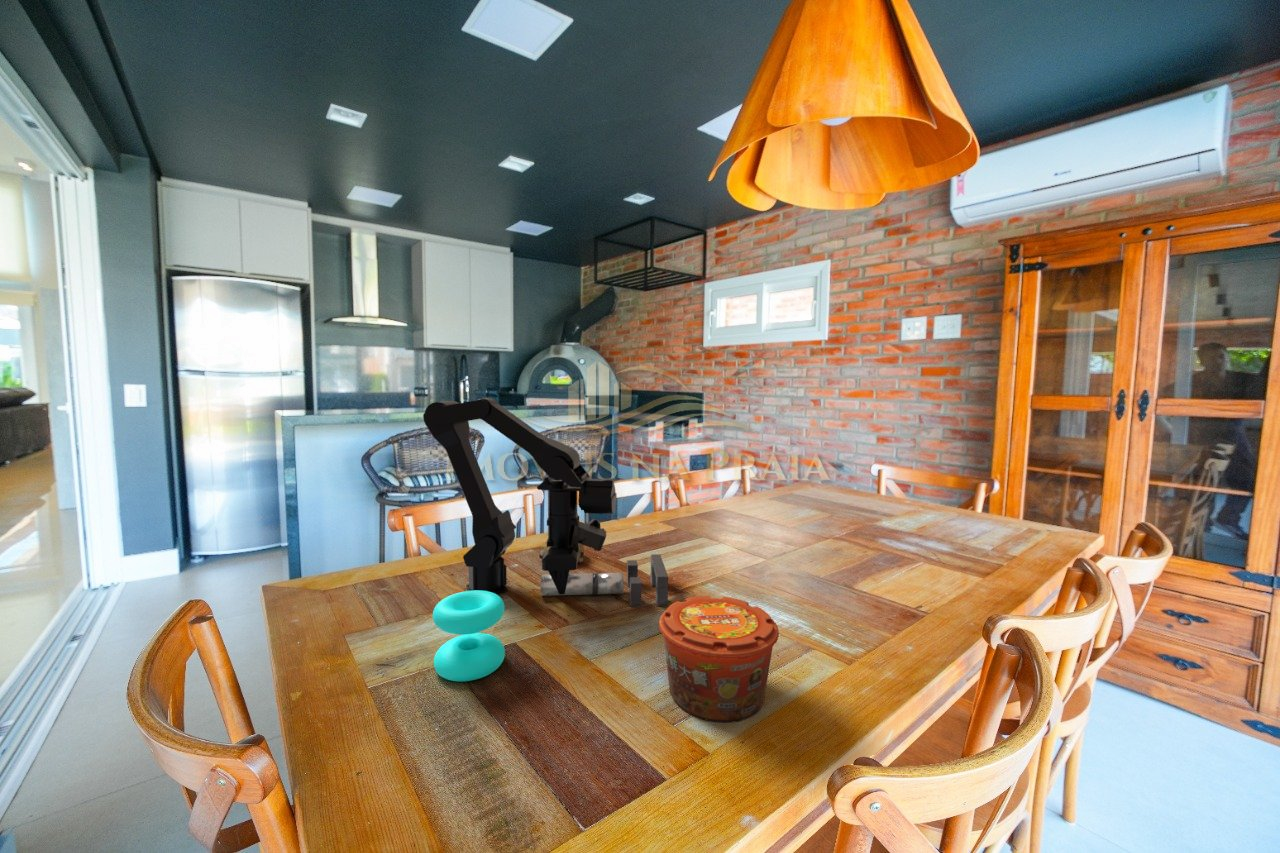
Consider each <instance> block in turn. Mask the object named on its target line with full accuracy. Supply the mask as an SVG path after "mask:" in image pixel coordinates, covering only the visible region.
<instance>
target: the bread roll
mask: <svg viewBox="0 0 1280 853" xmlns="http://www.w3.org/2000/svg"><path fill="white" fill-rule="evenodd" d="M549 548H550V547H547V540H546V541H545V542H544V543H543V545H541V548H540V552H539V559H541V560H542V558H543V555H544V553H545V552H546V551H547V550H548V549H549ZM584 554H585V548H584V545H582V544H580V543H579V551H578V552H577V564H578V562H579V563H582V562H583V561H584Z"/></svg>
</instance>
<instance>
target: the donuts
mask: <svg viewBox="0 0 1280 853" xmlns="http://www.w3.org/2000/svg"><path fill="white" fill-rule="evenodd" d="M504 613H505V602H504V600H503V599H502V597H500V595H498V593H496V594H495V593H492V592H488V591H481V590H473V591H469V590H466V591H461V592H457V593H452V594H451V595H448V596H446V597H445V598H443V599H441V600H440V601H439V602H438V603H437V604H436V605H435V607H434V608H433V612H432V621H433V623H434V624H435V626H436V627H437V628H438V629H440V630H441V631H443V632H445V633H447V634H452V635H457V636H456V637H453V638H451V639H449V640H447V641H446V642H444V643H443V644H442V645H441V646H440V647H439V648H438V650H437V651H436V653H435V655H434V658H433V666H434V671H435V672H436V673H437V675H439V676H440V677H441V678H443V679H445V680H448V681H453V682H470V681H476V680H479V679H483V678H484V677H486V676H489V675H491V674H492V673H494V672H495V671H496V670H497V669H499V667H501V665H502V663H503V662H504V660H505V655H506V649H505V646H504V644H503V643H502V641H501V640H500V639H499V638H498V637H496V636H494V635H492V634H489V633H483V631H486V630H489V628H492V627H494V625H496V624H497V623H498V622H499V621H500V619H501V618H502V617H503V615H504Z"/></svg>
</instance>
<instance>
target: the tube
mask: <svg viewBox="0 0 1280 853" xmlns="http://www.w3.org/2000/svg"><path fill="white" fill-rule="evenodd" d="M540 578H541V579H540V595H541V596H543V597H544V596H545V597H547V596H583V595H585V596H586V595H620V594H621V595H623V594H624V572H598V573H591V572H590V573H569V575H568V580H567V585H566V590H565V594H559V593H558V590H557V588H556V586H555V584H554V582H553V580H552V578H551V576H550V574H548V573H547V574H545V573H544V574H542V575H541V576H540Z"/></svg>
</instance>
